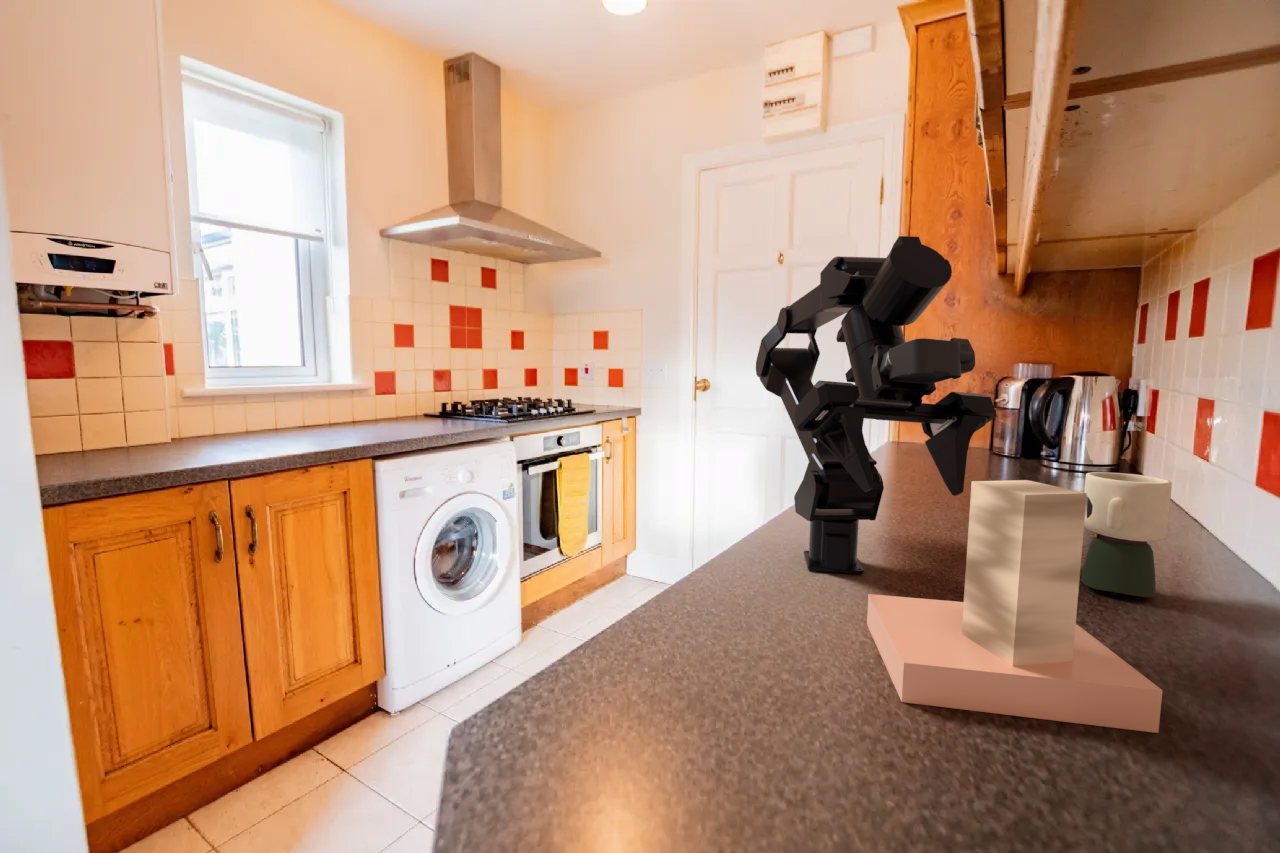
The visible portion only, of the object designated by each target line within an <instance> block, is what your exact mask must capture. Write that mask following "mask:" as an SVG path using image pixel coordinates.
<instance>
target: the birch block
mask: <svg viewBox="0 0 1280 853" xmlns="http://www.w3.org/2000/svg"><path fill="white" fill-rule="evenodd" d="M970 486H971V487H970V502H969V516H968V528H967V529H968V530H967V545H966V547H967V548H966V563H965V564H966V565H965V576H964V589H963V591H964V593H963V602H964V605H963V620H962V635H964V636H965V637H967V638H968V639H970V640H972V641H973V642H975V643H976V644H978V645H980V646H981V647H983V648H984V649H986V650H988V651H989V652H991V653H992V654H994V655H995V656H997V657H999V658H1000V659H1002V660H1003V661H1005V662H1007V663H1008V664H1010V665H1011V666H1021V665H1033V664H1045V663H1057V662H1069V661H1073V650H1074V638H1075V626H1076V624H1077V612H1078V600H1079V588H1080V580H1081V565H1082V553H1083V543H1084V542H1083V540H1084V529H1085V528H1084V520H1085V508H1086V497H1087V493H1084V491H1078V490H1074V489H1069V488H1065V487H1061V486H1057V485H1052V484H1047V483H1043V482H1038V481H1035V480H1030V479H1029V480H1028V479H1014V480H1012V479H1011V480H1009V479H1008V480H1007V479H1006V480H973V481H971V485H970Z"/></svg>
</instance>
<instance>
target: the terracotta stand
mask: <svg viewBox="0 0 1280 853" xmlns="http://www.w3.org/2000/svg"><path fill="white" fill-rule="evenodd" d="M867 596H868V597H867V618H866V619H867V620H866V626H867V628H868V630H869V632H870V635H871V637H872V639H873V641H874V643H875V646H876V647H877V650H878V653H879V655H880V657H881V659H882V661H883V664H884V666H885V668H886V671H887V673H888V675H889V678H890V680H891V682H892V683H893V686H894V688H895V690H896V692H897V695H898V697H899V699H900V701H901V703H907V704H915V705H924V706H931V707H940V708H949V709H956V710H966V711H972V712H981V713H990V714H996V715H1007V716H1012V717H1013V716H1016V717H1022V718H1029V719H1030V718H1031V719H1032V718H1033V719H1039V720H1046V721H1047V720H1048V721H1054V722H1055V721H1056V722H1065V723H1071V724H1072V723H1074V724H1081V725H1090V726H1098V727H1105V728H1115V729H1123V730H1130V731H1138V732H1139V731H1140V732H1148V733H1156V734H1159V732H1160V731H1159V730H1160V718H1161V708H1162V701H1163V700H1162V699H1163V691H1164V690H1163V689H1161V687H1159V686H1158V685H1156V684H1155V683H1153V682H1152V681H1151V680H1150V679H1148V678H1147V677H1146V676H1145V675H1143V674H1142V673H1141V672H1139V671H1138V670H1137V669H1135V667H1133V666H1131V665H1130V664H1129V663H1128V662H1127V661H1125V660H1124V659H1122V657H1120V656H1119V655H1117V654H1116V653H1115V652H1113V651H1112V650H1111V649H1110V648H1108V647H1107V646H1106V645H1104V644H1103V643H1102V642H1101V641H1099V640H1098V639H1096V638H1095V637H1094V636H1093V635H1092V634H1091V633H1089V632H1087V631H1086V630H1085V629H1083V627H1081V626H1080V625H1078V624H1077V623H1076V626H1075V638H1074V650H1073V661H1069V662H1057V663H1045V664H1033V665H1021V666H1011V665H1010V664H1008V663H1007V662H1005V661H1003V660H1002V659H1000V658H999V657H997V656H995V655H994V654H992V653H991V652H989V651H988V650H986V649H984V648H983V647H981V646H980V645H978V644H976V643H975V642H973V641H972V640H970V639H968V638H967V637H965V636H964V635H962V620H963V605H964V601H955V600H943V599H931V598H919V597H918V598H917V597H908V596H907V597H906V596H896V595H886V594H885V595H884V594H873V593H868V595H867Z"/></svg>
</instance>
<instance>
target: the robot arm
mask: <svg viewBox="0 0 1280 853" xmlns="http://www.w3.org/2000/svg"><path fill="white" fill-rule="evenodd" d="M819 273H820V274H819V275H820V282H819V285H817V286H815V287H814V288H812V289H811V290H809V291H808V292H807V293H806V294H804V295H803V296H801V297H800V298H799V299H797V300H796V301H794V302H793V303H792V304H790V305H786V306H785V307H781V309H780V311H779V312H778V313H779V314H778V316H777V317H778V318H777V319H776V320H777V321H776V323H775V325H773V326H772V328H771V329H769V331H768V332H767V333H766V334H765V335H764V336H763V337H762V338H761V340H760V345H759V348H758V352H757V357H756V362H755V374H756V376H757V377H758V378H759V380H760V383H761V384H762V386H763V387H764V389H765V390H766V391H768V392H770V393H771V394H774V395H775V396H777V397H779V398H781V400H782V403H783V405H784V407H785V411H786V412H787V414H788V417H789V419H790V421H791V423H792V425H793V428H794V429H795V432H796V435H797V437H798V439H799V442H800V443H801V446H802V448H803V451H804V452H805V455H806V456H807V457H806V458H807V459H808V464H807V466H806V470H805V473H804V475H803V478H802V479H803V480H802V481H801V482H800V485H799V486H798V488H797V490H796V492H795V494H794V498H793V499H794V500H793V501H794V509H795V514H797V515H798V516H800V517H802V518H803V519H805V520H806V521H808V522H810V523H809V543H808V545H809V546H808V548H809V549H808V550H804V551H803V558H804V561H805V564H806V567H807V568H806V569H807V570H809V571H814V572H815V571H818V572H831V573H843V574H855V575H856V574H857V575H859V574H860V575H863V574H864V573H865V569H864V567H863V566H862V564H861V562H860V560H859V559H858V544H859V543H858V542H859V522H860V521H868V520H869V521H876V519H877V515H878V512H879V508H880V504H881V500H882V496H883V492H884V489H885V488H884V481H883V478H882V474H881V473H880V472H879V469H878V468H877V467H876V465H877V460H875V459H874V458H873V457H872V456H871V453H870V451H869V449H868V447H867V445H866V441H865V437H864V433H863V426H864V419H865V420H867V419H868V420H869V419H870V420H877V421H890V422H902V423H903V422H905V423H917V424H919V423H920V424H921V427H922V431H923V433H924V434H925V435H926V436H927V437H929V438H928V439H927V440H925V442H924V443H925V446H926V447H927V450H928V452H929V455H930V456H931V458H932V460H933V462H934V464H935V466H936V469H937V471H938V472H939V474H940V476H941V478H942V480H943V482H944V485H945V486H946V488H947V489H948V491H949V493H950V494H951V495H952V496H954V497H955V496H956V497H957V496H959V495H961V494H962V493H963V492H964V490H965V479H966V478H965V477H966V469H967V458H968V457H967V456H968V451H969V447H970V443H971V439H972V437H973V435H974V434H975V433H976V432H977V431H978V430H980V429H982V428H983V427H985V426H986V425H987V424H988V423H989V422H991V421H993V420H995V419H996V418H997V417H998V414H997V411H996V409H995V406H994V403H993V400H992V397H991V396H988V395H986V394H982V393H977V392H976V393H974V392H962V391H961V392H960V391H951V392H949V393H948V394H946V395H945V396H944V397H943V398H941V399H940V400H938V401H937V402H936V403H926V402H925V403H923V399H922V398H923V397H925V396H930V395H931V394H932V393H934V392H936V391H937V387H936V383H939V382H942V381H946V380H949V379H953V380H956V379H960V378H961V377H962V374H966V373H969V372H973V370H974V368H975V367H976V354H975V350H974V349H973V346H972V344H971V343H970V340H969V339H968V338H959V337H951V338H950V340H945V339H936V338H926V337H925V338H923V337H922V338H914V339H911V340H908V341H906V338H905V335H904V332H903V326H909V325H912V324H913V323H915V322H916V321H917V320H918V319H919V318H920V317H921V315H922V314H923V313H924V312H925V310H927V308H928V307H929V305H930V304H931V303H932V302H933V300H934V299H935V298H936V297H937V296H938V295H939V293H940V292H942V290H943V289H944V287H945V286H946V285H947V284H948V283H949V281H950V279H951V278H952V273H953V269H952V265H951V263H950V261H949V260H948V258H947V259H946V258H944V256H943V255H941V253H940V252H938V251H937V250H935V249H933V248H932V247H930V246H927V245H925V244H922V241H921V238H920V237H919V236H912V235H911V236H910V235H908V236H907V235H906V236H905V235H902V236H901V235H900V236H898V237H897V238H896V240H895V242H894V243H893V245H892V248H891V249H890V251H889V253H888V254H887V256H886V257H870V256H869V257H868V256H867V257H866V256H840V255H839V256H835V257H833V258H832V259H831V260H830V261H829V262H828V263H827V264H826V266H825V267H824V268H823V269H822V270H821V272H819ZM843 315H844V316H843ZM841 316H843V318H842V320H841V322H840V324H841V326H840V328H839V330H838V331H837V334H836V342H838V343H845V346H846V350H847V355H848V357H849V358H848V359H849V364H850V369H848V370H847V372H846V373H845V374H844V375H845V380H846V382H842V381H841V382H840V381H831V380H829V381H828V380H818V381H816V383H813V382H812V380H813V376H814V372H815V369H816V366H817V363H818V361H819V358H820V355H821V353H820V349H819V346H818V343H817V340H816V333H817V330H818V329H819V328H820V327H822V326H824V325H826V324H828V323H829V322H831V321H834V320H835V319H837V318H839V317H841ZM787 334H794V335H795V334H799V335H800V334H803V335H805V334H807V336H808V339H809V343H808V347H806V348H805V347H803V348H802V347H801V348H800V347H777V346H779V345H780V343H781V342H782V341H784V340H785V339H786V337H787ZM853 383H854V384H853Z"/></svg>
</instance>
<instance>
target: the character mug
mask: <svg viewBox="0 0 1280 853" xmlns="http://www.w3.org/2000/svg"><path fill="white" fill-rule="evenodd" d="M1084 480H1085V481H1084V482H1085V483H1084V491H1083V492H1084V493H1087V497H1086V508H1085V520H1084V529H1086V530H1088V531H1091V532H1092V533H1094V537H1093V538H1092V539H1091V541H1090V543H1089V545H1088V550H1087V552H1086V553H1087V554H1086V556H1085V557H1086V558H1085V560H1084V563H1083V564H1084V565H1083V569H1082V573H1081V576H1080V581H1081V582H1082V584H1084V585H1085V586H1087V587H1089V588H1091V589H1094V590H1097V591H1098V590H1100V591H1107V592H1110V595H1112V596H1118V594H1123V595H1128V596H1134V597H1142V598H1153V597H1154V596H1155V595H1156V591H1157V589H1156V588H1157V587H1156V570H1155V569H1156V568H1155V556H1154V551H1153V548H1152V546H1151V545H1150V544H1149V543H1151V542H1152V543H1153V542H1160V541H1165V540H1166V539H1167V535H1168V527H1169V526H1168V525H1169V517H1170V515H1169V514H1170V507H1171V506H1170V505H1171V496H1172V484H1173V483H1172V481H1170V480H1167V479H1165V478H1161V477H1160V478H1159V477H1156V476H1155V477H1154V476H1150V475H1144V474H1142V475H1141V474H1136V473H1135V474H1134V473H1121V472H1105V471H1104V472H1100V471H1098V472H1097V471H1095V472H1087V473H1086V474H1085V479H1084ZM1148 542H1149V543H1148Z"/></svg>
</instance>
